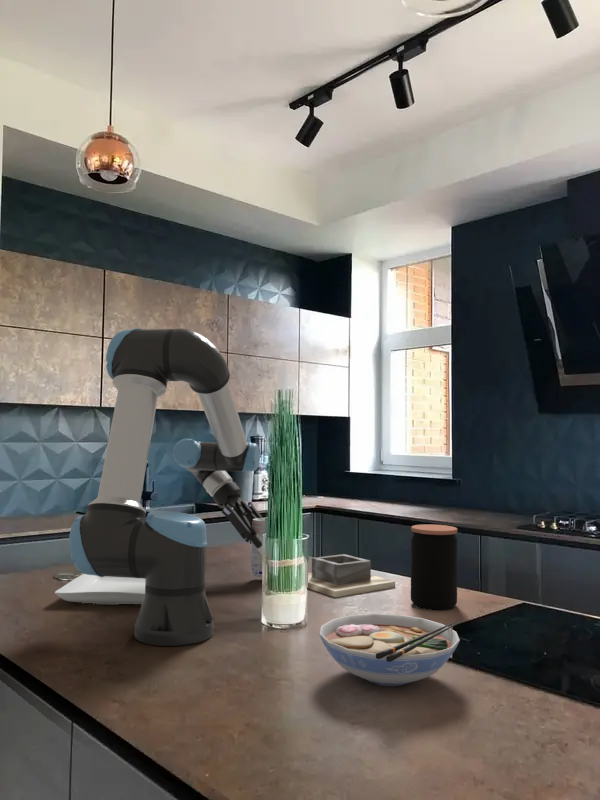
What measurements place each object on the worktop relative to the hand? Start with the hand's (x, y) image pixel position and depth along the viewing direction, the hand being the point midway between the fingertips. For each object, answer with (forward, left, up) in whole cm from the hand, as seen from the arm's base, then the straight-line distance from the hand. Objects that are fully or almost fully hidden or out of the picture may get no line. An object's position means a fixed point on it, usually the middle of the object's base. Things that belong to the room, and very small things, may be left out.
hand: (274, 554), depth 177 cm
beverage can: (+3, +2, -6) cm, 7 cm away
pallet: (-12, -13, -7) cm, 19 cm away
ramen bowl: (-68, +23, -7) cm, 72 cm away
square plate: (+8, +37, -8) cm, 39 cm away
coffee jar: (-40, -18, -7) cm, 44 cm away
